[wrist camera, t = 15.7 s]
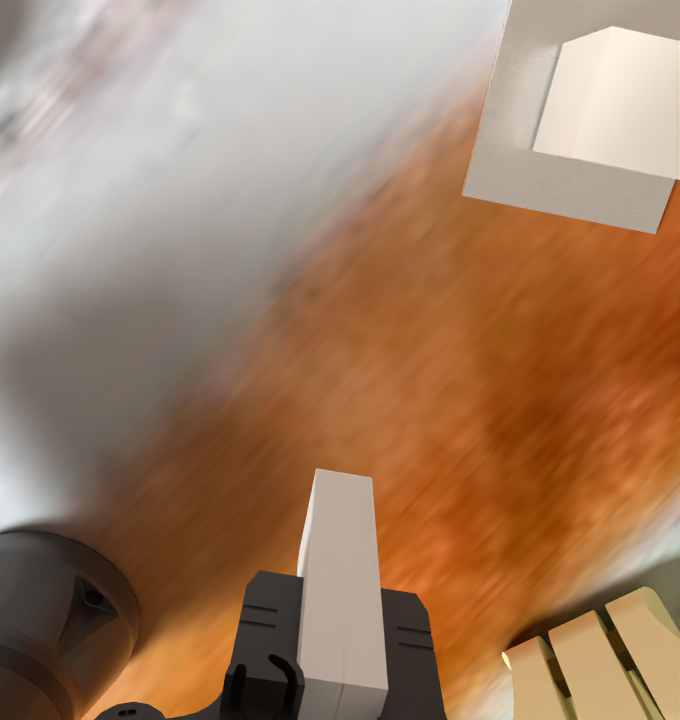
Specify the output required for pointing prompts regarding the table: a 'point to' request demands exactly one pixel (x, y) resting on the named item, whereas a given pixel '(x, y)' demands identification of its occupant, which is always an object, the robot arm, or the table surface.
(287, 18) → the table surface
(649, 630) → the slatted curved stool
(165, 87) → the table surface
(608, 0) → the square grey base plate
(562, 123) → the cream cube
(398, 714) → the robot arm
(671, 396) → the table surface
